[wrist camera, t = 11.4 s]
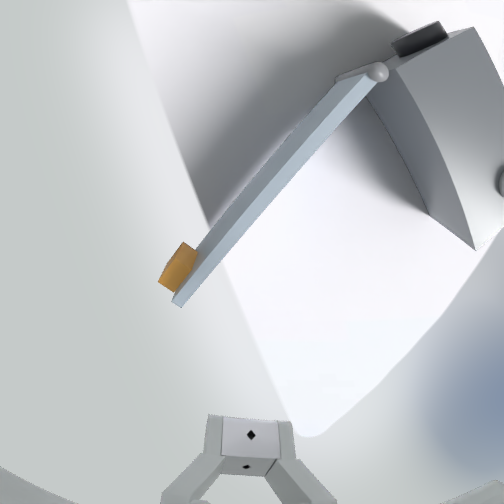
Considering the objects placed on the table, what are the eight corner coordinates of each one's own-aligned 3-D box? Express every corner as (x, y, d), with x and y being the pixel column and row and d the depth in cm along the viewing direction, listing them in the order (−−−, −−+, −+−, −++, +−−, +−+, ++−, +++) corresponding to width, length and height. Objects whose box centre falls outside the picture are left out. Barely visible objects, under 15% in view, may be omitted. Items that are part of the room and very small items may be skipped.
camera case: (345, 66, 20) (389, 48, 12) (414, 29, 17) (471, 8, 10) (430, 216, 25) (481, 256, 17) (484, 173, 23) (541, 199, 15)
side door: (329, 61, 19) (361, 42, 13) (352, 82, 20) (392, 72, 13) (174, 248, 26) (150, 295, 20) (197, 264, 27) (180, 315, 20)
